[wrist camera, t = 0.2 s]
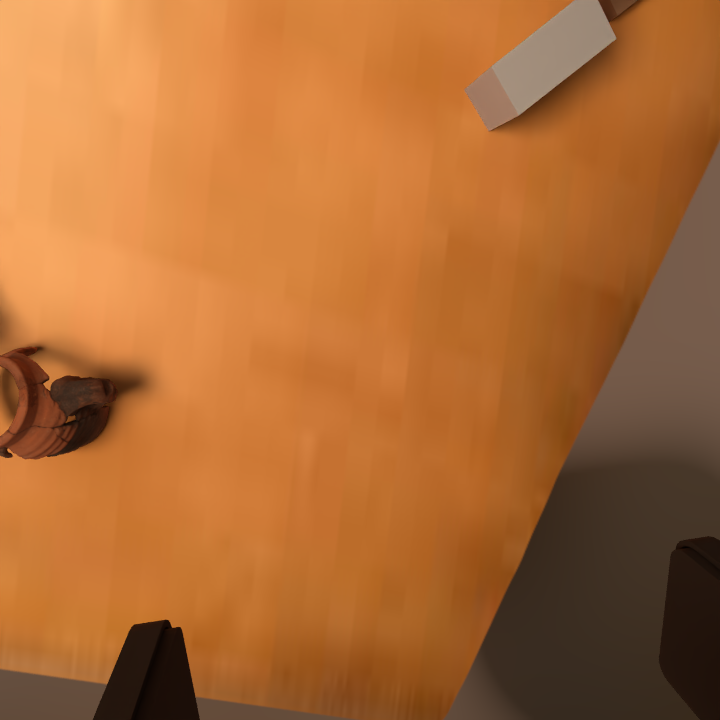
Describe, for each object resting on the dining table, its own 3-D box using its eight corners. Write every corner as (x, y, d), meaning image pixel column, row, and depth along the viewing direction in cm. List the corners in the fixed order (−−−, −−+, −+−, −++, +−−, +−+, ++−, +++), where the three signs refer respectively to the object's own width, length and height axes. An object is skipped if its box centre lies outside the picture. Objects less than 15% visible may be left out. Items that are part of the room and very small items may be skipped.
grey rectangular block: (463, 90, 41) (491, 66, 36) (552, 19, 41) (594, -16, 35) (488, 131, 42) (518, 115, 37) (575, 63, 42) (619, 36, 36)
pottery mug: (48, 466, 45) (-47, 478, 37) (31, 370, 47) (-63, 362, 39) (156, 429, 42) (78, 434, 34) (134, 329, 44) (55, 310, 36)
